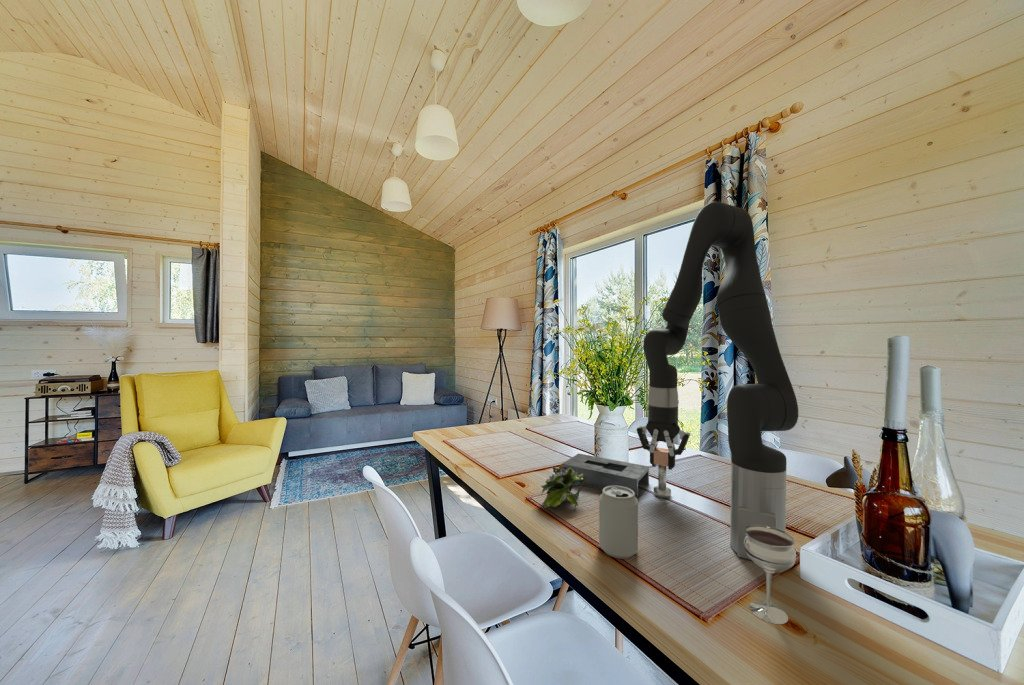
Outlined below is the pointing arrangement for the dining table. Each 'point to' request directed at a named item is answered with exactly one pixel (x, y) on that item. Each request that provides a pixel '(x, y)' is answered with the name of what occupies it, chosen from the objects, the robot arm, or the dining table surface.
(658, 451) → the peg
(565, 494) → the leafy green plant
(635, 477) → the keyhole plate
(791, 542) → the wineglass
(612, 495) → the can
